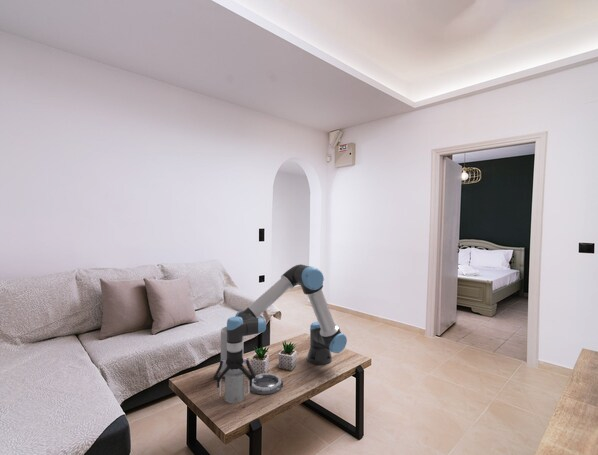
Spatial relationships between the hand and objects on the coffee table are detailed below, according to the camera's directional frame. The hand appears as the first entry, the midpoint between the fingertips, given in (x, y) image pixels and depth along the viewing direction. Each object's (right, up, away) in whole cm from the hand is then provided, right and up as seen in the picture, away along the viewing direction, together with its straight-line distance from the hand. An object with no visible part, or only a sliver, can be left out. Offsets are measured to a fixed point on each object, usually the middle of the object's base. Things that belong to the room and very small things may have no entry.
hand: (234, 393), depth 154 cm
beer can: (0, -2, 0) cm, 2 cm away
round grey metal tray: (+14, -2, +11) cm, 18 cm away
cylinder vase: (-6, -2, +25) cm, 25 cm away
